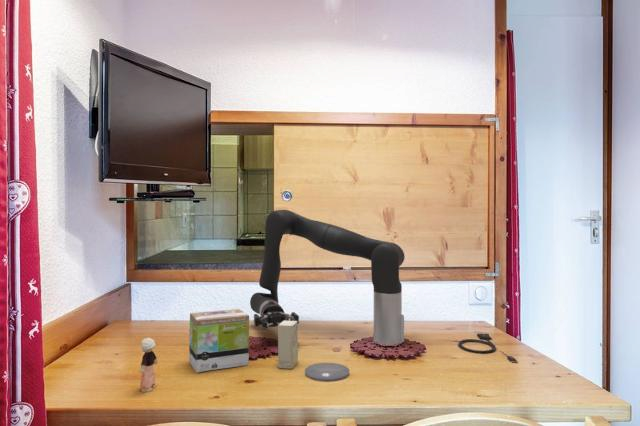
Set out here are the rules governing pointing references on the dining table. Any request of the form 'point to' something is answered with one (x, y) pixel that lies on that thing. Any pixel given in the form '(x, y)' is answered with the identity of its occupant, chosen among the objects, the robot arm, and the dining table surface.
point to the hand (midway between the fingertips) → (280, 324)
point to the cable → (487, 338)
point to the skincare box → (287, 344)
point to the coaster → (327, 371)
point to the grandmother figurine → (148, 366)
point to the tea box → (218, 339)
